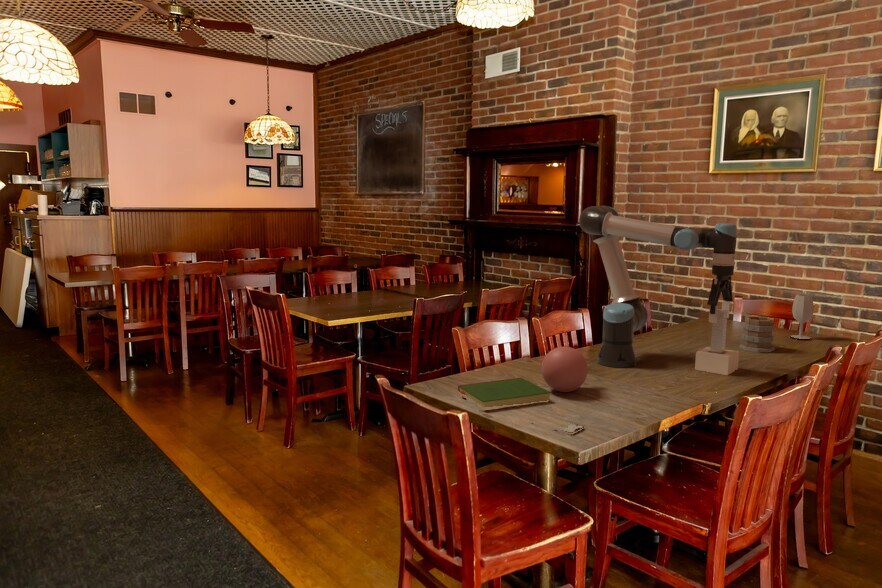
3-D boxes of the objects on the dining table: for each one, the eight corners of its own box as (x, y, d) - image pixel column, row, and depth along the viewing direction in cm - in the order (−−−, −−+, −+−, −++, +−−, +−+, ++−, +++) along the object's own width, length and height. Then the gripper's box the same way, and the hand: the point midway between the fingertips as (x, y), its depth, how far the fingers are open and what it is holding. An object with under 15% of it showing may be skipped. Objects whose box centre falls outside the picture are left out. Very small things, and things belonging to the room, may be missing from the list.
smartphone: (541, 415, 186) (585, 426, 176) (541, 419, 187) (585, 430, 176) (526, 421, 181) (571, 433, 171) (526, 425, 181) (571, 437, 171)
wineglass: (785, 337, 297) (788, 294, 294) (799, 336, 300) (803, 293, 297) (800, 341, 289) (804, 296, 286) (815, 340, 291) (819, 295, 288)
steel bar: (720, 363, 236) (724, 311, 233) (709, 361, 239) (713, 310, 236) (724, 361, 239) (727, 310, 236) (713, 359, 242) (716, 308, 239)
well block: (727, 375, 231) (728, 357, 230) (694, 369, 239) (695, 351, 238) (737, 369, 240) (739, 351, 239) (706, 363, 248) (707, 346, 247)
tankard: (778, 353, 266) (781, 318, 264) (748, 352, 266) (751, 318, 264) (756, 342, 286) (758, 310, 284) (728, 342, 286) (730, 310, 284)
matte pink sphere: (606, 391, 212) (607, 347, 210) (562, 400, 201) (564, 354, 199) (574, 380, 225) (575, 338, 222) (531, 389, 214) (532, 345, 212)
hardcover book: (521, 387, 217) (521, 377, 217) (550, 403, 200) (550, 392, 200) (456, 396, 208) (456, 385, 207) (481, 413, 191) (481, 401, 190)
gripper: (722, 267, 222) (717, 326, 225) (744, 263, 240) (739, 317, 244) (700, 266, 227) (696, 323, 230) (724, 261, 245) (719, 314, 249)
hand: (718, 320), depth 237 cm, fingers open, 13 cm apart
